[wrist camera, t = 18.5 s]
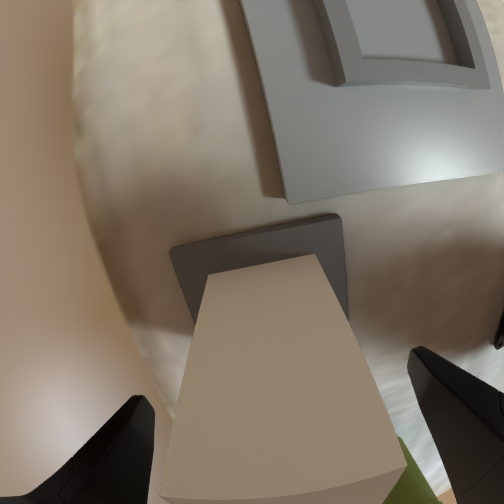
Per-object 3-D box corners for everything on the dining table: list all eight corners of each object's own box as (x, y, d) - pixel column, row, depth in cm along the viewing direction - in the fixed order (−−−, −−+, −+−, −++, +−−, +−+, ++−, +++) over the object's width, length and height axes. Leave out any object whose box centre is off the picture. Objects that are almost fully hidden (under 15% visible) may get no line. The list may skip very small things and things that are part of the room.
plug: (323, 335, 13) (374, 513, 5) (234, 352, 14) (226, 533, 5) (314, 253, 12) (407, 465, 3) (208, 274, 12) (159, 495, 4)
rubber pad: (345, 341, 14) (348, 349, 14) (216, 365, 15) (215, 373, 14) (336, 213, 12) (341, 217, 11) (172, 247, 12) (169, 253, 11)
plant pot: (417, 396, 17) (468, 515, 7) (423, 443, 21) (453, 524, 11) (277, 452, 19) (286, 572, 9) (323, 484, 23) (335, 565, 13)
